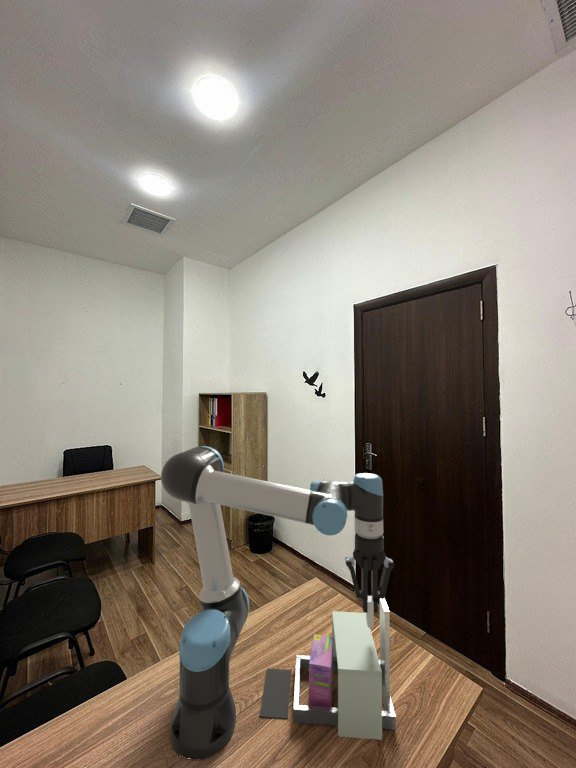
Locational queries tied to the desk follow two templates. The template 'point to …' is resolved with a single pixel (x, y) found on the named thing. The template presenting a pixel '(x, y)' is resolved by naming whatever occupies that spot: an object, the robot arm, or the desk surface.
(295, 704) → the frame
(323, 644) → the box
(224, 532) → the robot arm
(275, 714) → the mat
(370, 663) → the sage green tall block
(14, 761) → the desk surface
